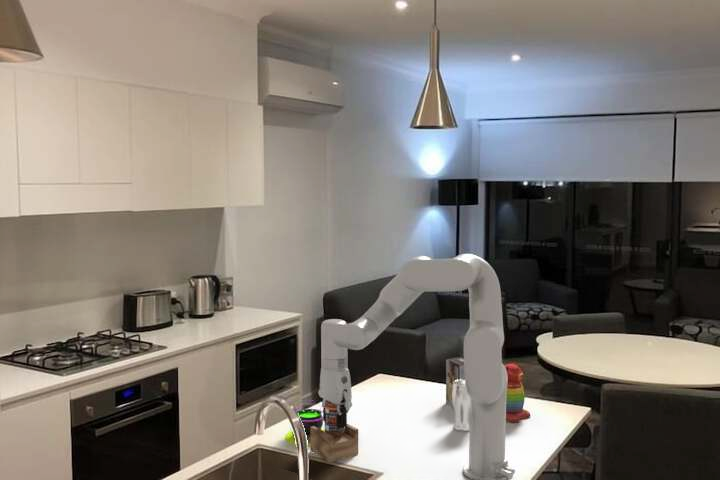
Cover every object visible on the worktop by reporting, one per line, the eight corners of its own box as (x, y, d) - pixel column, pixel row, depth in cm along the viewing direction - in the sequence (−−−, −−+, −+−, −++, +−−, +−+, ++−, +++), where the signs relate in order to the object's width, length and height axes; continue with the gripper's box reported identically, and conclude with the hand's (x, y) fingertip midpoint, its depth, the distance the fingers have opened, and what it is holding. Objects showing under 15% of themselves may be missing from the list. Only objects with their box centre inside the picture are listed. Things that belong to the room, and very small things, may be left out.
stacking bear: (513, 424, 216) (515, 370, 215) (488, 415, 224) (489, 364, 222) (532, 416, 223) (534, 364, 222) (507, 408, 231) (509, 358, 229)
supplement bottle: (327, 436, 189) (326, 397, 188) (322, 429, 194) (322, 391, 193) (347, 434, 190) (347, 395, 189) (342, 427, 196) (342, 389, 195)
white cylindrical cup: (473, 433, 208) (474, 386, 207) (451, 431, 210) (451, 385, 208) (474, 425, 215) (475, 379, 214) (452, 423, 216) (453, 378, 215)
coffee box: (474, 408, 231) (475, 363, 230) (459, 410, 229) (459, 365, 227) (459, 400, 240) (460, 356, 238) (444, 402, 237) (445, 358, 235)
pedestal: (358, 454, 192) (358, 429, 191) (329, 462, 186) (329, 437, 185) (338, 443, 200) (338, 419, 199) (310, 451, 194) (310, 426, 193)
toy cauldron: (342, 434, 207) (342, 400, 206) (313, 450, 195) (313, 414, 194) (305, 425, 215) (305, 391, 214) (274, 439, 203) (274, 404, 202)
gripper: (363, 367, 186) (363, 429, 187) (328, 354, 200) (328, 412, 201) (341, 371, 181) (341, 435, 183) (307, 358, 195) (307, 418, 197)
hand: (334, 423), depth 192 cm, fingers closed on supplement bottle, 6 cm apart
